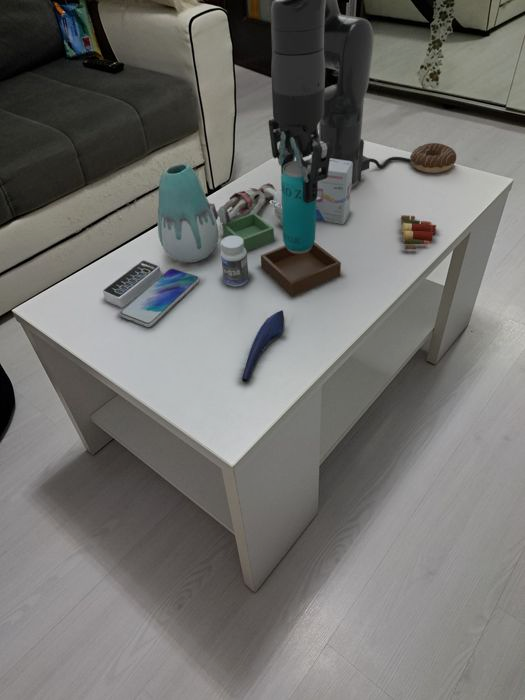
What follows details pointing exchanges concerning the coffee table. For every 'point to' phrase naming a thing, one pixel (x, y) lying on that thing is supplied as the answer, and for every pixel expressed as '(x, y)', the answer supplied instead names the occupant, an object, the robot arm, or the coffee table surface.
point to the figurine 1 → (243, 203)
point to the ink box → (335, 192)
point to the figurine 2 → (278, 202)
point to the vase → (185, 215)
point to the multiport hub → (132, 283)
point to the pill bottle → (234, 261)
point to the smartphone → (159, 297)
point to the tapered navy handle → (263, 340)
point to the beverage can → (296, 211)
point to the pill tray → (250, 231)
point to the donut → (433, 157)
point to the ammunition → (416, 231)
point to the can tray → (300, 268)
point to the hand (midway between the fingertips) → (298, 193)
